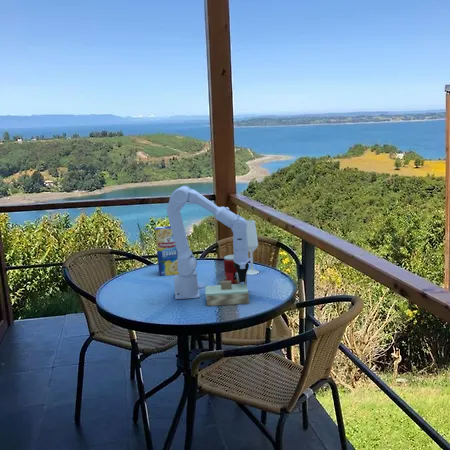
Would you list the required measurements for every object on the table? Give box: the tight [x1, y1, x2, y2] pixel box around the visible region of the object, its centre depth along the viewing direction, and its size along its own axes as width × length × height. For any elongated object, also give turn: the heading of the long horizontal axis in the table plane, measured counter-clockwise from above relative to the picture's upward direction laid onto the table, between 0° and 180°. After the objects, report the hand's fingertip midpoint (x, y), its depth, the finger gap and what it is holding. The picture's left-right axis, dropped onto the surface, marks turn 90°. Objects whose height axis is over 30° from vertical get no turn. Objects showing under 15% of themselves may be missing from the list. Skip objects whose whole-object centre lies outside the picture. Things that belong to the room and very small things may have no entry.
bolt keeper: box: [236, 272, 248, 286], centre depth 207 cm, size 4×4×8 cm
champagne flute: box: [246, 219, 260, 275], centre depth 232 cm, size 7×7×24 cm
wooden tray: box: [205, 292, 250, 307], centre depth 197 cm, size 16×10×4 cm, turn 92°
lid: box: [205, 280, 249, 297], centre depth 197 cm, size 16×10×4 cm, turn 92°
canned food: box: [223, 254, 242, 284], centre depth 222 cm, size 8×8×11 cm
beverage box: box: [154, 225, 179, 277], centre depth 239 cm, size 7×11×22 cm, turn 98°
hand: (242, 281), depth 202 cm, fingers closed
